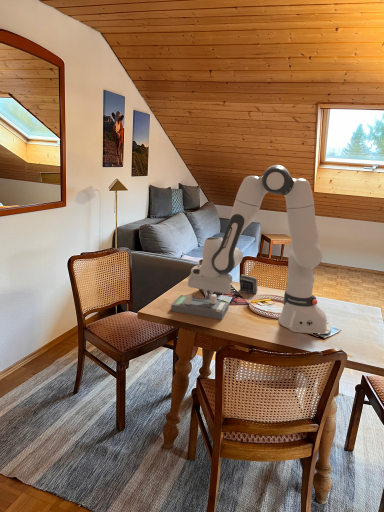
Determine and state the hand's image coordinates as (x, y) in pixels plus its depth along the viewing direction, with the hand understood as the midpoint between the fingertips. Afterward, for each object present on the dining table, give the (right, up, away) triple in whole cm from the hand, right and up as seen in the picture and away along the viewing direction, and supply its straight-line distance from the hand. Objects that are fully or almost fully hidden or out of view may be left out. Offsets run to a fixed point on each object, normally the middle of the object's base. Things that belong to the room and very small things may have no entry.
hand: (207, 298), depth 184 cm
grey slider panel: (-4, -5, -1) cm, 6 cm away
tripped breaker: (+2, -2, 0) cm, 3 cm away
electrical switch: (+23, 0, +27) cm, 35 cm away
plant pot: (+3, +1, +25) cm, 25 cm away
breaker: (-9, -2, -3) cm, 10 cm away
